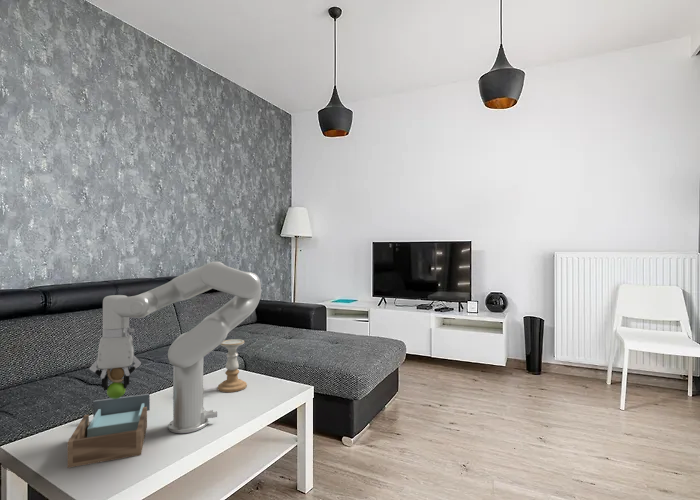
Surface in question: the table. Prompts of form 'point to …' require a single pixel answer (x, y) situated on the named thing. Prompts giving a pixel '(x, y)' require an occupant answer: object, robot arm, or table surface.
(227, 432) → the table surface
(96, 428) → the tray
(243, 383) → the candle holder
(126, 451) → the box
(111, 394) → the snail figurine
